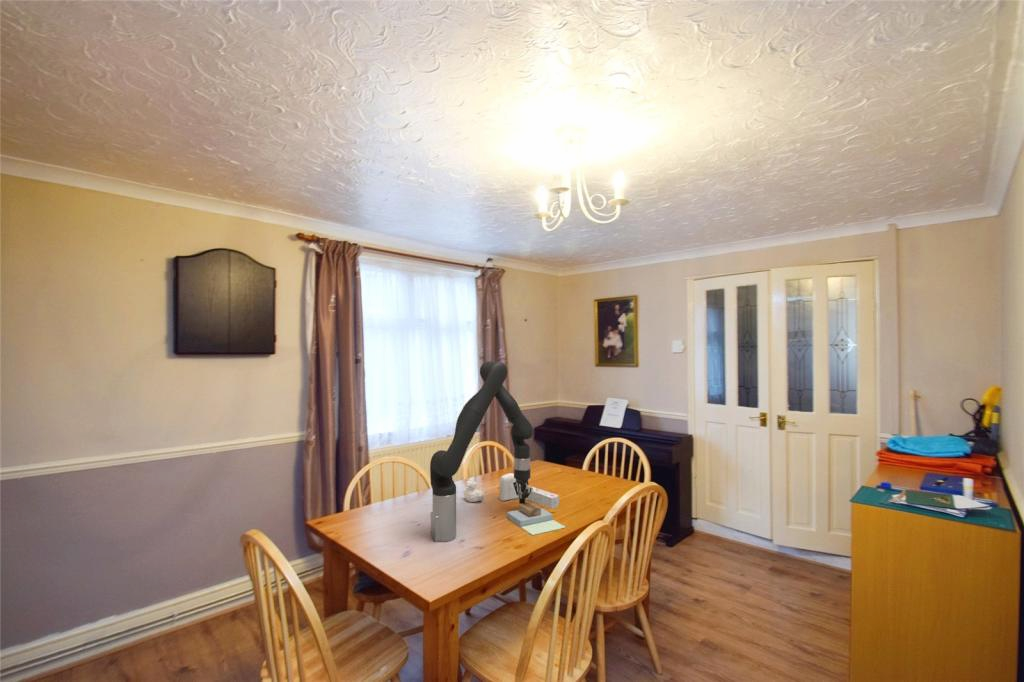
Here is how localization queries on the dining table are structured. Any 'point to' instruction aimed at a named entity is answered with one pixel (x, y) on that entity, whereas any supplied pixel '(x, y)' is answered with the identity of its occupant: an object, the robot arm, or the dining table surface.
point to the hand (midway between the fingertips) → (522, 506)
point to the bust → (473, 492)
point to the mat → (543, 527)
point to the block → (529, 509)
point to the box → (543, 497)
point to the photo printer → (507, 487)
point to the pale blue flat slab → (525, 521)
